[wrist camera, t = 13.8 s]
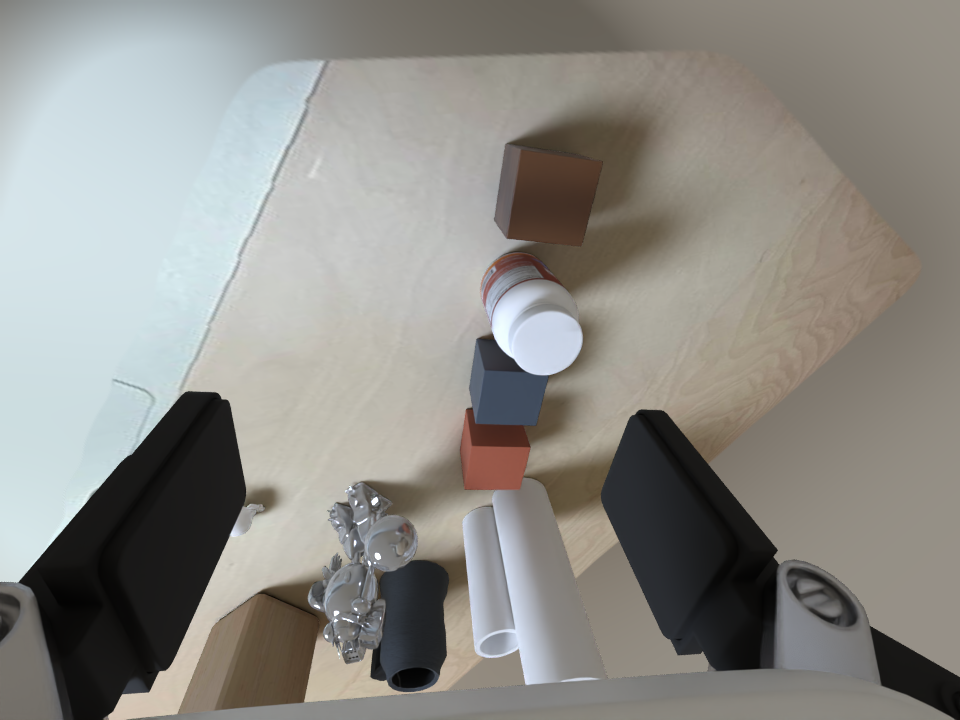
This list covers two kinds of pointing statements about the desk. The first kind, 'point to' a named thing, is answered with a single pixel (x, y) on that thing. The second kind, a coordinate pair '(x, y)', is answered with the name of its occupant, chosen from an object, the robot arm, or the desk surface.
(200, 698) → the wooden block
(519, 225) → the block
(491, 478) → the block
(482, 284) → the pill bottle
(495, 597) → the vase
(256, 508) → the rabbit figurine
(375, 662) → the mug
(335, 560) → the robot toy
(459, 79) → the desk surface
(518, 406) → the block
